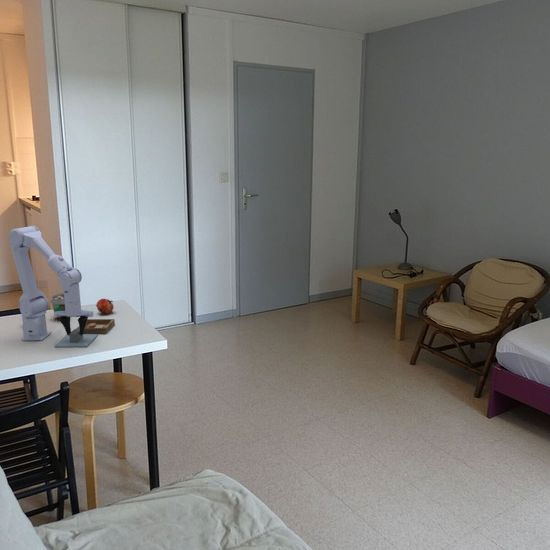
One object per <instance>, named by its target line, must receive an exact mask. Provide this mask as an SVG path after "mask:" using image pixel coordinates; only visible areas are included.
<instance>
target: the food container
mask: <svg viewBox="0 0 550 550" xmlns="http://www.w3.org/2000/svg"><path fill="white" fill-rule="evenodd" d="M50 303H51V304H52V309H53V313H54V312H55V311H65V301H64V292H62V293H55V294H53V295H52V296H51V298H50ZM60 318H61V317H54V319H55V321H58V322H60Z"/></svg>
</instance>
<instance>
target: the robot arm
mask: <svg viewBox="0 0 550 550" xmlns="http://www.w3.org/2000/svg"><path fill="white" fill-rule="evenodd" d="M7 237H8V241H9V245H10V250H11V255H12V258H13V261H14V265H15V268H16V272H17V275H18V279H19V283H20V287H21V289H22V295H20V297H19V299H18V301H19V311H20V314H21V316H22V315H23V316H24V317H26V319H25V321H24V323H23V322H22V331H23V332H22V333H23V338H21V341H44V339H46V338H47V336H49V335H50V334H51V333H52V331H48V330H47V329H48V326H47V319H46V314H47V310H48V309H49V306H50V303H49V301H48V298H46V295H45V293H44V292H43V291H41V290H39V288H38V284H37V281H36V278H35V274H34V270H33V266H32V263H31V260H30V256H29V253H28V252H29V250H30V248H35V250H36V251H37V252H38V253H40V255H41V256H43V257H44V259H46V260H47V265H48V267H49V268H50V269H51V270H52V271H53V273H55V274H56V276H57V277H58V282H59V284H60V285H61V289H62V291H63V293H64V301H65V311H55V312H54V311H53V318H55V317H61V318H60V321H59V323H61V324H62V326H63V328H64V330H65V333H66V335H69V334H70V333H71V332H72V327H71V318H77V322H78V326H79V327H80V335H83V334H84V328H85V324H86V321H87V319H89V318H93V317H94V315H95V314H94V311H93V310H84V309H83V310H82V305H81V304H82V303H81V291H80V283H81V281H82V280H83V279H82V278H83V277H82V276H83V275H82V273H81V272H80V270H79V269H78V268H74V267H73V266H71V265H70V264H69V263H68V262H67V261H66V260H65V258H64V257H63V256H61V255H60V254H55V252H54V251H53V250H52V248H51V247H50V246H49V245H48V243H47V242H46V241H45V240H44V239H43V233H42V232H41V231H40V230H39V228H38V227H36V226H35V225H30V226H25V227H19V228H12V229H11V230H10V232H9V234H8V235H7ZM32 298H34V299H32Z"/></svg>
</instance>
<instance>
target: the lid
mask: <svg viewBox="0 0 550 550" xmlns="http://www.w3.org/2000/svg"><path fill="white" fill-rule="evenodd" d="M98 335H99V334H83V335H80V329H76V328H74V329H73V330H71V333H70V334H69V335H67V334H65V335H64V336H63V337H62V338H60V340H59V341H58V342H56V344H54V348H88V347H89V346H90V345H91V344H92V343H93V342H94V341H95V340H96V339H97V338H98Z"/></svg>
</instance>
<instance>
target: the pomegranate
mask: <svg viewBox="0 0 550 550" xmlns="http://www.w3.org/2000/svg"><path fill="white" fill-rule="evenodd" d="M113 302H114V300H110V299H108V298H101V299H99V300H98V301H97V302H96V305H95V306H96V308H97V310H98V313H101V314H102V315H108V314H110V313H112V312H113V310H114V307H115V306H114V303H113Z"/></svg>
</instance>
